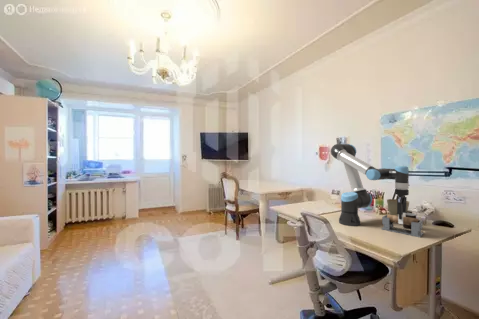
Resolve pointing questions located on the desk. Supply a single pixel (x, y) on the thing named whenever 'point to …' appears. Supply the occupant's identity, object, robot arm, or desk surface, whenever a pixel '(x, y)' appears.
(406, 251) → the desk surface
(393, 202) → the plant pot
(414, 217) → the coffee mug
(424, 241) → the desk surface
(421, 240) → the desk surface
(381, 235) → the desk surface
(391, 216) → the wooden cylinder
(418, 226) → the bracket
